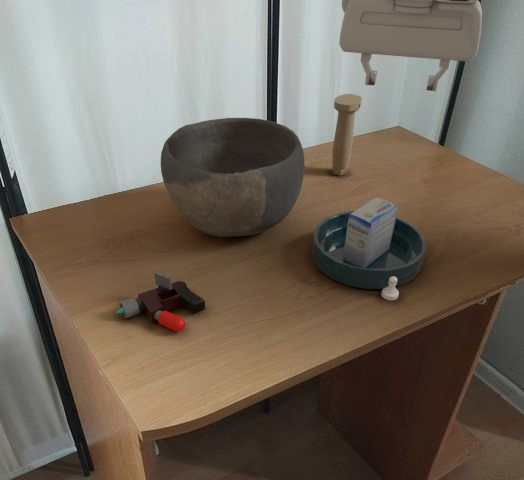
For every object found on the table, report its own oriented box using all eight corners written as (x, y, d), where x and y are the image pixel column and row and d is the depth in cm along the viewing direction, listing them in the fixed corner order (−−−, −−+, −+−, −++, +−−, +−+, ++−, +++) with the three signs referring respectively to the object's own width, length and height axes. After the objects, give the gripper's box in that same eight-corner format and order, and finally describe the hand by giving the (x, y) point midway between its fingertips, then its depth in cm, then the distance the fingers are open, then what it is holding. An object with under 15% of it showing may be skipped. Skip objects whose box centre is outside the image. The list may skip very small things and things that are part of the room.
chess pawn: (389, 302, 82) (393, 284, 80) (377, 294, 84) (381, 275, 81) (401, 297, 83) (405, 279, 81) (390, 288, 85) (394, 270, 82)
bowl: (173, 265, 88) (162, 179, 78) (163, 196, 106) (154, 118, 95) (316, 251, 92) (324, 167, 82) (284, 186, 109) (288, 110, 99)
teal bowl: (423, 240, 95) (429, 219, 93) (416, 300, 83) (422, 279, 80) (323, 224, 99) (325, 204, 96) (301, 280, 86) (303, 259, 83)
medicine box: (367, 241, 94) (375, 195, 88) (389, 250, 92) (399, 204, 86) (341, 260, 89) (348, 213, 83) (364, 270, 87) (372, 223, 81)
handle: (355, 170, 115) (366, 96, 105) (343, 181, 111) (352, 106, 101) (335, 164, 117) (343, 92, 107) (322, 176, 113) (329, 101, 103)
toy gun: (113, 312, 79) (106, 286, 76) (186, 288, 84) (183, 262, 81) (137, 351, 73) (131, 325, 70) (215, 323, 78) (213, 296, 75)
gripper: (339, -19, 74) (331, 87, 84) (494, -12, 70) (466, 99, 80) (347, -27, 79) (338, 75, 88) (493, -20, 75) (467, 86, 84)
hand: (400, 87), depth 84 cm, fingers open, 8 cm apart
